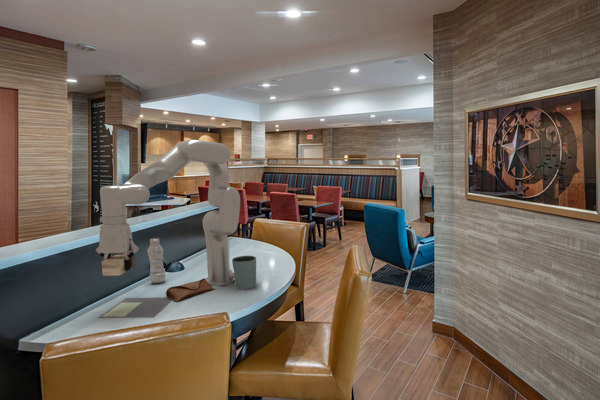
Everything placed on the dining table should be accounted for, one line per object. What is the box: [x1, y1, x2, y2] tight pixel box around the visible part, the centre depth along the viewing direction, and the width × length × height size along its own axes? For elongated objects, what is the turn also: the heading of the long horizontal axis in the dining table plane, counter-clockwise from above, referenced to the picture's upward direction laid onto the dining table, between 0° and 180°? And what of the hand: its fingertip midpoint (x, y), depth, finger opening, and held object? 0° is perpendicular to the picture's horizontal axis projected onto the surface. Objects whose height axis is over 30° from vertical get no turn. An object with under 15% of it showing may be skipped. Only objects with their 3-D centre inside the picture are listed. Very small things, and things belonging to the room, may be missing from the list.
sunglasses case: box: [165, 278, 215, 302], centre depth 142 cm, size 18×7×7 cm, turn 139°
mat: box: [97, 296, 173, 319], centre depth 130 cm, size 20×18×1 cm
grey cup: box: [231, 255, 257, 291], centre depth 149 cm, size 10×10×12 cm
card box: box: [101, 253, 136, 277], centre depth 126 cm, size 10×6×5 cm, turn 177°
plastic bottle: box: [147, 237, 167, 284], centre depth 157 cm, size 6×7×20 cm
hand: (119, 269), depth 126 cm, fingers closed on card box, 6 cm apart
